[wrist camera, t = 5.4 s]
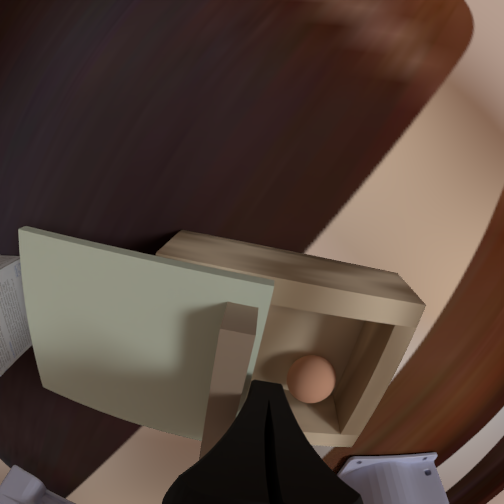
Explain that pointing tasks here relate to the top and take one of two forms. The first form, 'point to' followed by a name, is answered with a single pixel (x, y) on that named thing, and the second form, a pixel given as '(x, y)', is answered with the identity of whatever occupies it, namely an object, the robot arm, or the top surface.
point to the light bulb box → (12, 313)
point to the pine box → (320, 326)
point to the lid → (142, 333)
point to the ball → (311, 379)
